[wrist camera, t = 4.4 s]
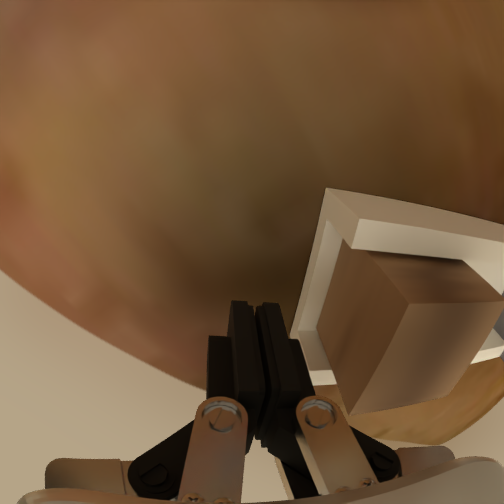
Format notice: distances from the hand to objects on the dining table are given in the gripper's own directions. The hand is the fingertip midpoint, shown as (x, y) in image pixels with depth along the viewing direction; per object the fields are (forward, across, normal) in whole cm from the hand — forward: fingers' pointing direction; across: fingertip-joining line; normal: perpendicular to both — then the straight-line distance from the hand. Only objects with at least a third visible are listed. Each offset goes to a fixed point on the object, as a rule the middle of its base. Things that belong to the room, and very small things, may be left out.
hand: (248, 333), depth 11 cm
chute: (+5, -12, 0) cm, 13 cm away
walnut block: (+4, -8, 0) cm, 8 cm away
